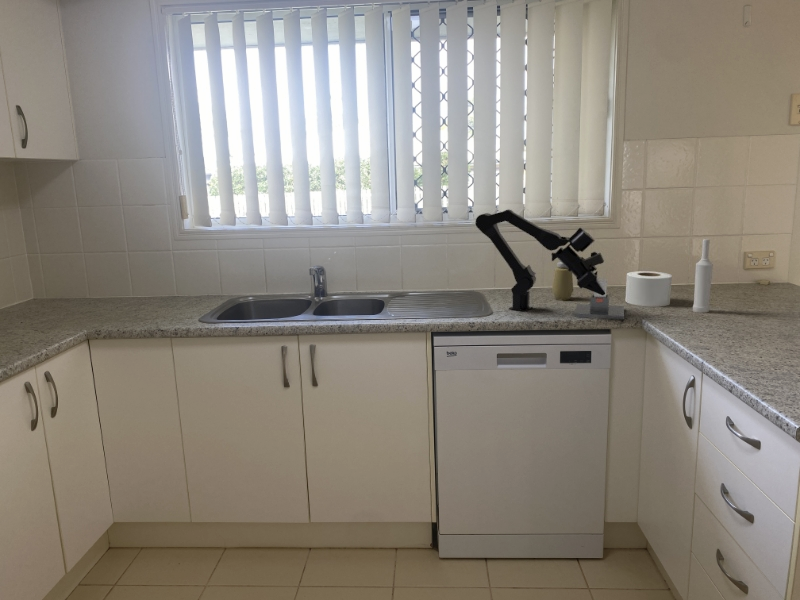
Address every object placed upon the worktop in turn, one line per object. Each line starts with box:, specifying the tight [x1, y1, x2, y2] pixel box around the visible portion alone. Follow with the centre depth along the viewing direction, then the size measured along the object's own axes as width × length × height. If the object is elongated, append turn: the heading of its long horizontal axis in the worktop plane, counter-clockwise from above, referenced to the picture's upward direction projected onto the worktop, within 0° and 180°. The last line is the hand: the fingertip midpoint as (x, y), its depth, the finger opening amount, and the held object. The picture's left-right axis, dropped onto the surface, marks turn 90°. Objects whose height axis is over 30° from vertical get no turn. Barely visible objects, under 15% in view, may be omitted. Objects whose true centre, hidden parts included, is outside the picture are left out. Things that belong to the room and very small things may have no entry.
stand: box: [573, 293, 625, 320], centre depth 202 cm, size 16×16×6 cm
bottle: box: [692, 238, 714, 314], centre depth 199 cm, size 5×5×25 cm
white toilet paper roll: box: [625, 270, 673, 308], centre depth 217 cm, size 16×15×11 cm
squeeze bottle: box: [551, 260, 574, 301], centre depth 226 cm, size 8×8×18 cm
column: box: [593, 277, 608, 298], centre depth 202 cm, size 4×4×11 cm
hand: (604, 293), depth 201 cm, fingers closed on column, 4 cm apart
